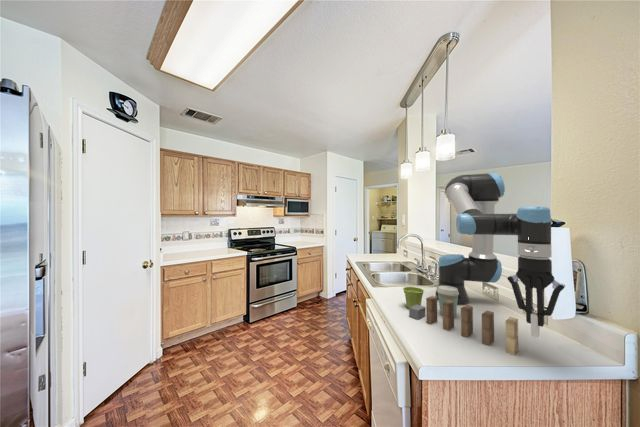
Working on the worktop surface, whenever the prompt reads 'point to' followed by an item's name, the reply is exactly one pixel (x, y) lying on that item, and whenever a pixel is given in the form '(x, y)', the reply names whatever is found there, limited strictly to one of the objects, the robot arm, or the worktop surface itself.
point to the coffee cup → (447, 297)
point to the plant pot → (413, 296)
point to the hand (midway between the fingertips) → (535, 335)
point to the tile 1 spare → (511, 335)
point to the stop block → (417, 312)
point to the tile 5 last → (431, 309)
